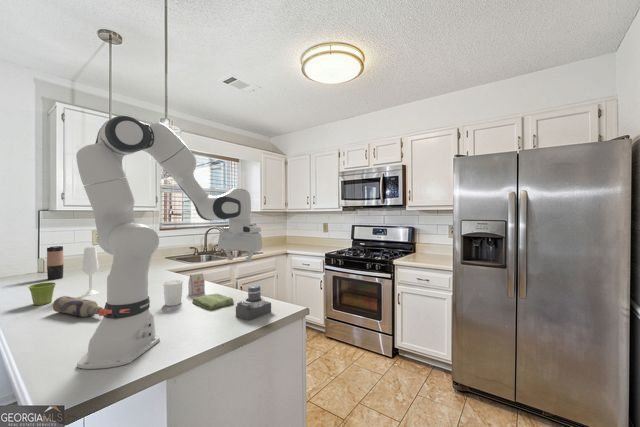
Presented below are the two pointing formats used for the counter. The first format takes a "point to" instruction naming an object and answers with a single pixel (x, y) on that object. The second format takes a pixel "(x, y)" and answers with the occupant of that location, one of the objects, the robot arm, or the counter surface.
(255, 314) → the camera body
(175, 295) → the white cup
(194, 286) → the white food carton
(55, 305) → the decorative bottle
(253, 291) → the lens
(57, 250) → the travel mug
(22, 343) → the counter surface
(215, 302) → the washcloth
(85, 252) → the champagne flute
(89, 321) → the counter surface
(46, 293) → the plant pot
